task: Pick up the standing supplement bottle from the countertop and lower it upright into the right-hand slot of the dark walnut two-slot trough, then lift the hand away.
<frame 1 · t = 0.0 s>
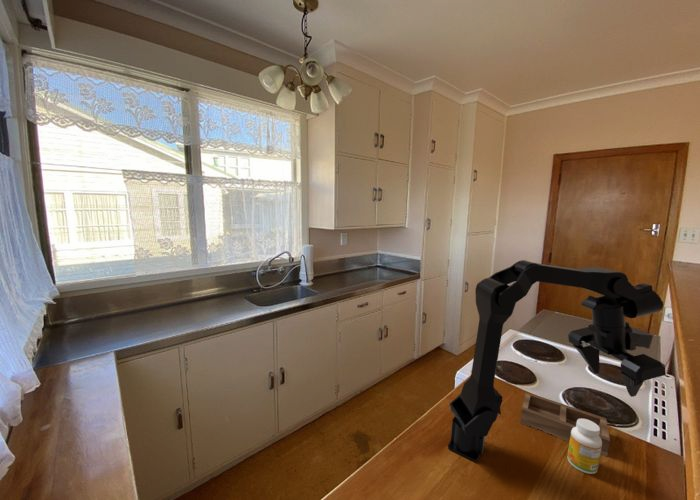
hand: (613, 383, 72), 15 cm above the countertop, tool pointing down, fingers open, 9 cm apart
walnut trough: (561, 427, 79), on the countertop
supplement bottle: (581, 465, 67), on the countertop
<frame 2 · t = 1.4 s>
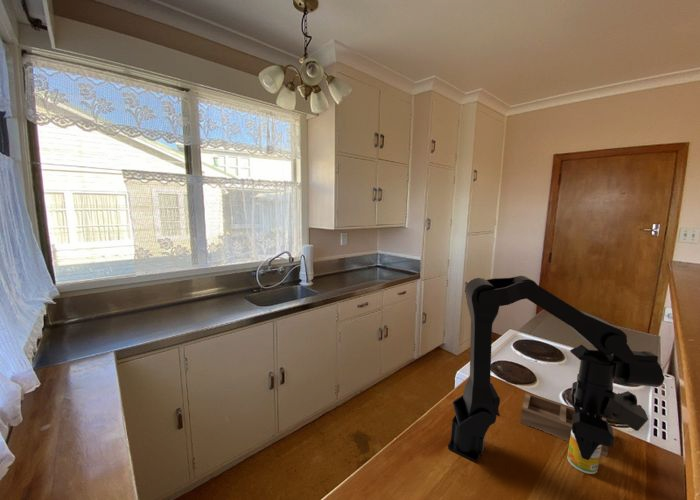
hand: (584, 445, 67), 5 cm above the countertop, tool pointing down, fingers open, 9 cm apart
nothing on the countertop moved.
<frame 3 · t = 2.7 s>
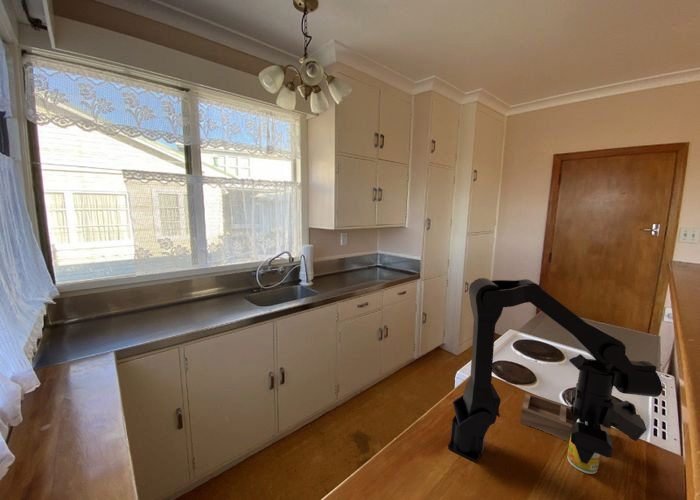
hand: (583, 454, 67), 3 cm above the countertop, tool pointing down, fingers closed on supplement bottle, 5 cm apart
supplement bottle: (581, 465, 67), on the countertop, touching gripper
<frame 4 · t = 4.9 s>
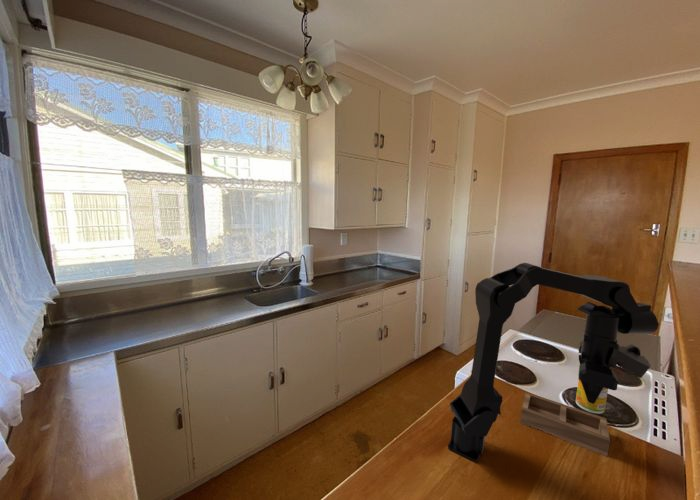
hand: (590, 396, 71), 13 cm above the countertop, tool pointing down, fingers closed on supplement bottle, 5 cm apart
supplement bottle: (589, 407, 71), point 10 cm above the countertop, touching gripper
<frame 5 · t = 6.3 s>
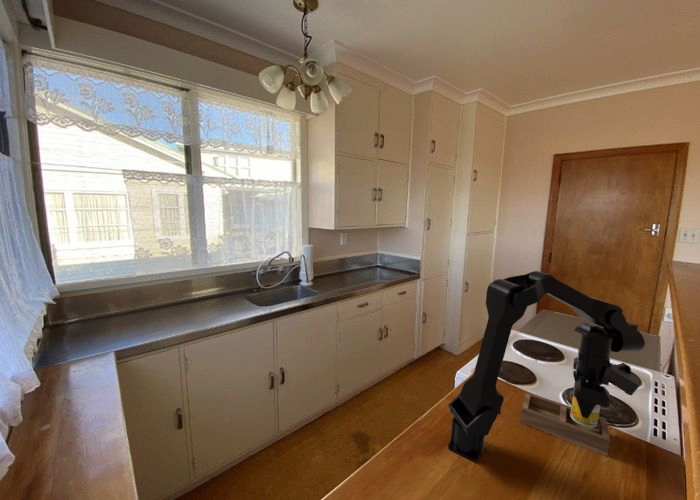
hand: (584, 411, 75), 7 cm above the countertop, tool pointing down, fingers closed on supplement bottle, 5 cm apart
supplement bottle: (583, 421, 76), point 4 cm above the countertop, touching gripper
when the fingers open (5 cm above the countertop, at t = 7.3 s): supplement bottle drops 2 cm, resting on walnut trough.
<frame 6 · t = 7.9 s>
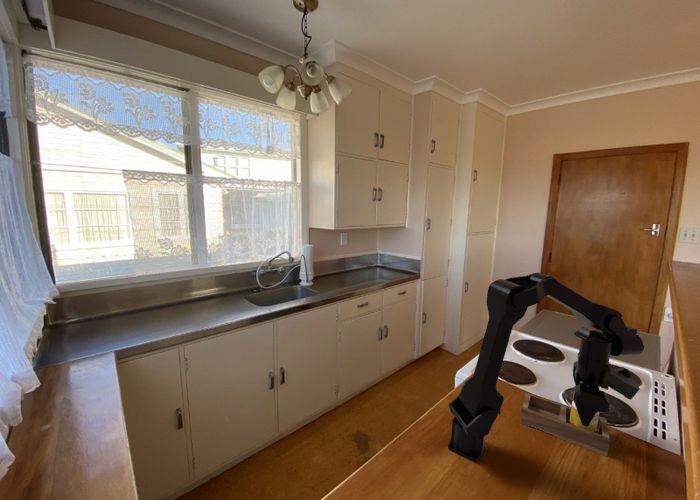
hand: (584, 415, 75), 5 cm above the countertop, tool pointing down, fingers open, 9 cm apart
supplement bottle: (581, 432, 76), point 1 cm above the countertop, touching walnut trough
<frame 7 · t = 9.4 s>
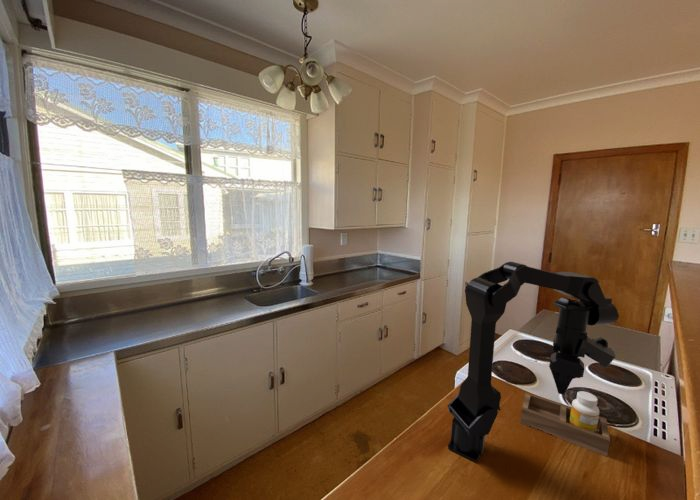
hand: (561, 385, 76), 12 cm above the countertop, tool pointing down, fingers open, 9 cm apart
nothing on the countertop moved.
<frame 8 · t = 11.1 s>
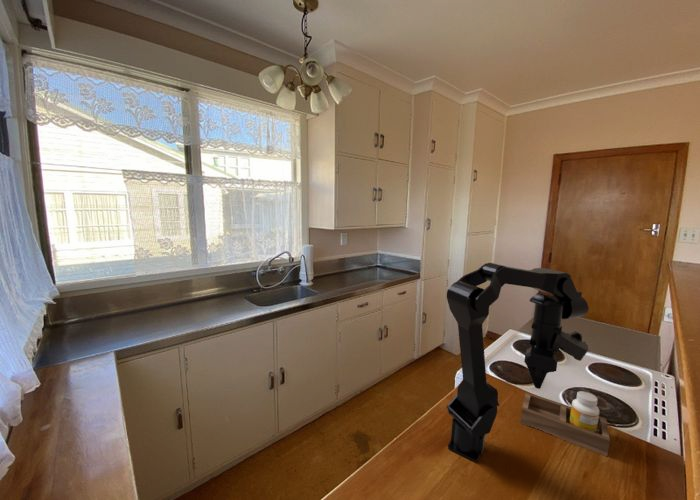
hand: (539, 379, 77), 13 cm above the countertop, tool pointing down, fingers open, 9 cm apart
nothing on the countertop moved.
at the end: supplement bottle 0.1 cm from the target spot on the walnut trough, point 0.8 cm above the walnut trough's base; supplement bottle tilted 0°; the gripper is holding nothing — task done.
